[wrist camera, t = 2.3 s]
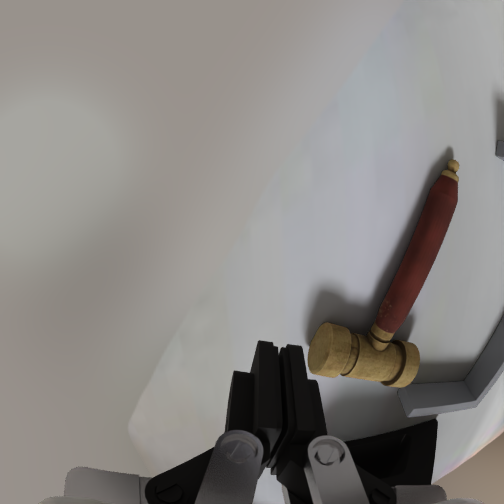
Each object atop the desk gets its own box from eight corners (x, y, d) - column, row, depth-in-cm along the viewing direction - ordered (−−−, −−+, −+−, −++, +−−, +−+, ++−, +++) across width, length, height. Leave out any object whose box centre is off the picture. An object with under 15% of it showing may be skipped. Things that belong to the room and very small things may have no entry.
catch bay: (554, 183, 17) (576, 192, 14) (464, 387, 28) (475, 407, 24) (497, 140, 17) (526, 145, 13) (397, 392, 28) (407, 417, 24)
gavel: (423, 128, 15) (506, 189, 16) (394, 132, 20) (475, 182, 20) (310, 384, 22) (401, 396, 22) (303, 351, 26) (386, 368, 27)
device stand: (435, 416, 31) (466, 494, 17) (400, 474, 39) (413, 530, 25) (287, 447, 33) (289, 541, 19) (292, 494, 41) (293, 555, 27)
